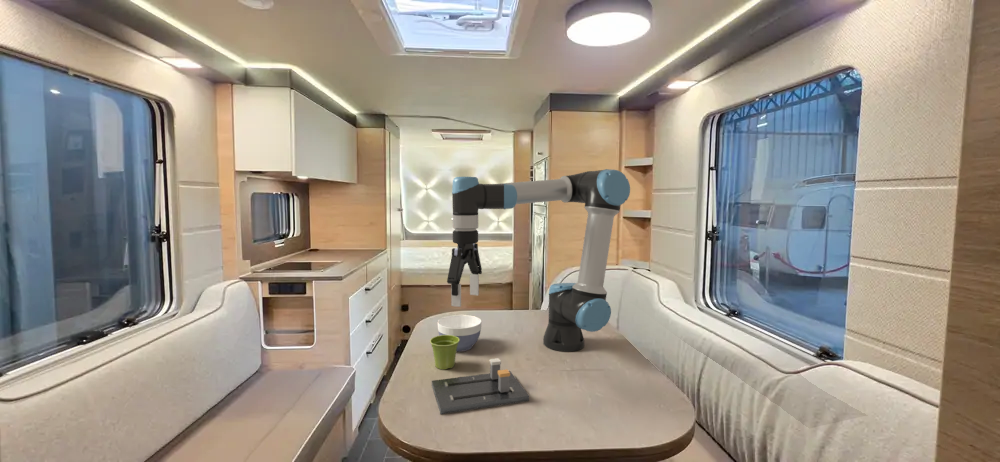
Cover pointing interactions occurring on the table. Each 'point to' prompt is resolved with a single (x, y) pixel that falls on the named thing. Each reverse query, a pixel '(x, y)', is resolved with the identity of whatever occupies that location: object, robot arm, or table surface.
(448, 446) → the table surface
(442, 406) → the console
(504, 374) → the fader orange
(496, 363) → the fader white
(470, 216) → the robot arm
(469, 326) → the bowl
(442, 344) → the plant pot
